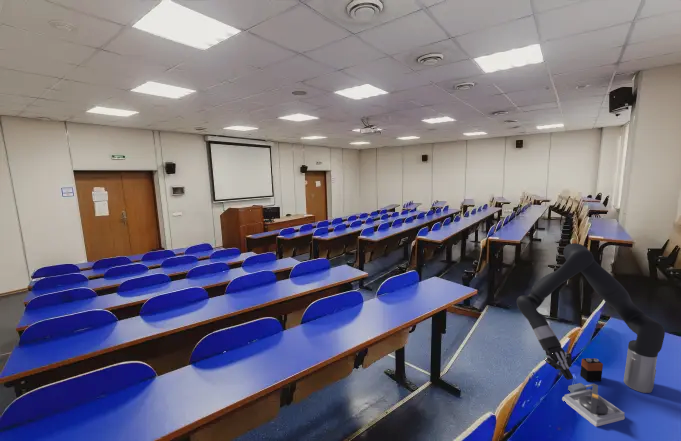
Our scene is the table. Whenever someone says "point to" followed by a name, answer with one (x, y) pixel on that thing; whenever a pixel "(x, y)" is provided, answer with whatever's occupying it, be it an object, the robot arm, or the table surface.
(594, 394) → the dial
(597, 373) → the battery
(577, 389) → the screwdriver
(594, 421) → the panel
